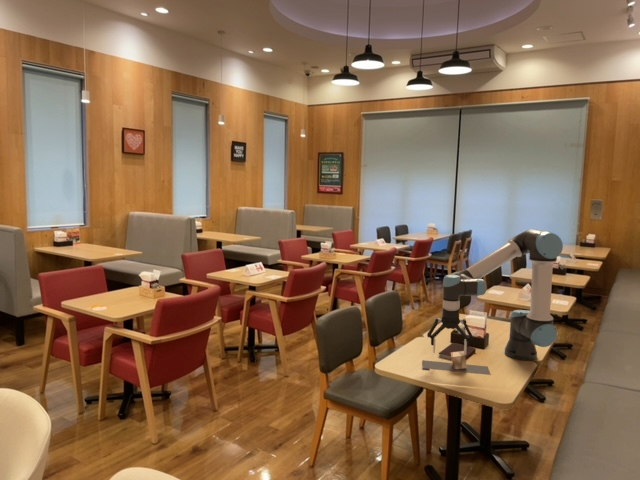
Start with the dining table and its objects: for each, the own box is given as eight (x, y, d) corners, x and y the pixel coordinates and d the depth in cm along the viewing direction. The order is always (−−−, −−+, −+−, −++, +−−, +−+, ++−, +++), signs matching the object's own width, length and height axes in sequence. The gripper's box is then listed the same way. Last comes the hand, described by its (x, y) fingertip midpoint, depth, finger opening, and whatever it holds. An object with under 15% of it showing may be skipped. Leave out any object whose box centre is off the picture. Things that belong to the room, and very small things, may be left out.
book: (475, 353, 244) (476, 347, 243) (462, 364, 228) (463, 358, 228) (452, 348, 251) (452, 342, 251) (437, 358, 236) (438, 352, 235)
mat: (487, 367, 224) (487, 366, 224) (490, 375, 214) (490, 374, 214) (422, 361, 230) (422, 360, 230) (422, 369, 220) (422, 368, 220)
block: (463, 350, 223) (450, 352, 225) (464, 355, 218) (451, 357, 219) (465, 363, 224) (452, 364, 225) (467, 368, 218) (453, 369, 219)
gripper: (478, 307, 220) (476, 351, 223) (422, 305, 225) (421, 348, 228) (480, 312, 213) (478, 357, 216) (423, 309, 218) (422, 353, 220)
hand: (449, 353), depth 222 cm, fingers open, 13 cm apart
